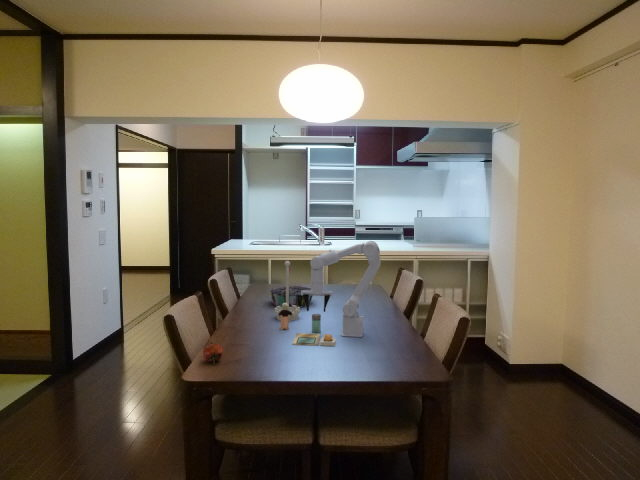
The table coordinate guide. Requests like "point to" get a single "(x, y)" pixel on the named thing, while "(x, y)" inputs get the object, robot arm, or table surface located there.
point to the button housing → (327, 342)
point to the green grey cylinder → (316, 323)
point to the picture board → (306, 339)
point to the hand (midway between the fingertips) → (316, 310)
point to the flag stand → (293, 309)
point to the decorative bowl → (294, 296)
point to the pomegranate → (213, 352)
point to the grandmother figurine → (285, 316)
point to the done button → (328, 337)
